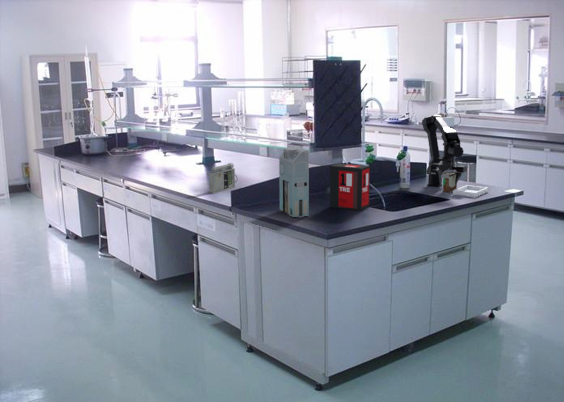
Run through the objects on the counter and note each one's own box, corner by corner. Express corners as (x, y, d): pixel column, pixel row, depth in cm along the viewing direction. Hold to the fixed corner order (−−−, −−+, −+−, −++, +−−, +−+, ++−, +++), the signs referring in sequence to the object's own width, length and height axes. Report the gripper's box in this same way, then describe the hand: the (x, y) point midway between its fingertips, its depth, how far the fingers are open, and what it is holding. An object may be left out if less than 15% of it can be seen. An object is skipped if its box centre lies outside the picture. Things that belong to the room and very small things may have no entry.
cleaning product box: (329, 206, 304) (330, 165, 300) (338, 203, 312) (338, 163, 308) (361, 210, 296) (361, 168, 292) (369, 207, 303) (370, 165, 299)
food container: (446, 188, 347) (447, 170, 345) (457, 189, 343) (458, 171, 341) (436, 191, 338) (437, 173, 336) (447, 193, 334) (448, 174, 332)
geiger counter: (214, 167, 335) (241, 161, 355) (204, 166, 338) (232, 160, 359) (215, 193, 338) (242, 186, 358) (205, 192, 341) (232, 184, 362)
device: (279, 210, 298) (278, 147, 291) (294, 209, 300) (294, 146, 294) (292, 218, 283) (292, 151, 276) (308, 216, 285) (308, 150, 279)
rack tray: (452, 195, 329) (453, 190, 329) (466, 189, 343) (466, 185, 343) (475, 197, 322) (475, 193, 321) (488, 192, 336) (488, 187, 335)
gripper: (426, 155, 336) (424, 183, 339) (459, 158, 324) (458, 187, 328) (435, 152, 344) (433, 180, 348) (468, 155, 333) (466, 184, 336)
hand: (447, 183), depth 340 cm, fingers open, 9 cm apart
